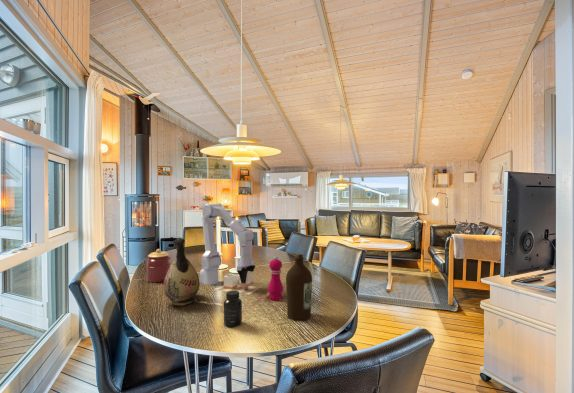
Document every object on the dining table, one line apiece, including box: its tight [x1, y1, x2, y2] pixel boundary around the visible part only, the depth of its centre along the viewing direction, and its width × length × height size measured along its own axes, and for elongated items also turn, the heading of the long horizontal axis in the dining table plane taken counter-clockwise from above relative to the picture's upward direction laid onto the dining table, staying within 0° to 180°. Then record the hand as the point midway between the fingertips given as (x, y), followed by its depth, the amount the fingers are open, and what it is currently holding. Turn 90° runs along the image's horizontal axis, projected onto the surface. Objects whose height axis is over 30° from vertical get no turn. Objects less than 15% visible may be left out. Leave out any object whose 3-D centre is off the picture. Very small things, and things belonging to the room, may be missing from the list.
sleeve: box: [238, 271, 254, 286], centre depth 147 cm, size 5×5×6 cm
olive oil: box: [285, 253, 313, 322], centre depth 119 cm, size 11×11×25 cm
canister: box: [145, 248, 172, 283], centre depth 170 cm, size 13×13×18 cm
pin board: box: [214, 284, 261, 296], centre depth 149 cm, size 20×12×6 cm, turn 68°
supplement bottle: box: [223, 291, 243, 328], centre depth 112 cm, size 7×7×12 cm
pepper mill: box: [267, 256, 284, 302], centre depth 139 cm, size 7×7×20 cm
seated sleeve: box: [223, 273, 239, 289], centre depth 151 cm, size 5×5×6 cm
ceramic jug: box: [163, 237, 201, 306], centre depth 133 cm, size 17×15×30 cm
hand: (246, 281), depth 147 cm, fingers closed on sleeve, 5 cm apart
